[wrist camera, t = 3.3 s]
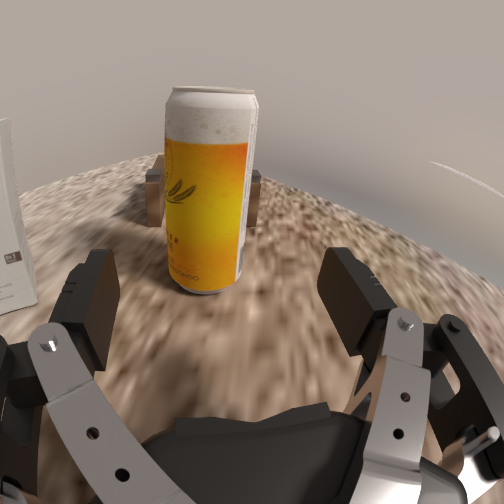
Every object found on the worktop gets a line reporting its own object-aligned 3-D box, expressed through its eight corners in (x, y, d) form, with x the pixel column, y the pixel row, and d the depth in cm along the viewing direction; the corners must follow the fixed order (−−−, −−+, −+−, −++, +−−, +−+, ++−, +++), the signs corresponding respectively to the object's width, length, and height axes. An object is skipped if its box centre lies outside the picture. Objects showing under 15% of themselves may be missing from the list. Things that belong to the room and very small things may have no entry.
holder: (147, 226, 30) (144, 176, 27) (158, 188, 40) (158, 149, 36) (255, 226, 33) (261, 177, 29) (241, 188, 42) (244, 150, 39)
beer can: (177, 252, 27) (178, 85, 19) (241, 257, 27) (259, 89, 19) (162, 295, 22) (154, 88, 14) (240, 302, 22) (263, 92, 14)
